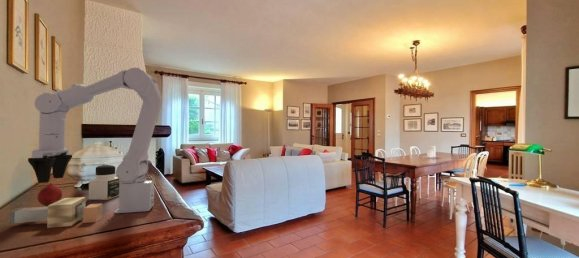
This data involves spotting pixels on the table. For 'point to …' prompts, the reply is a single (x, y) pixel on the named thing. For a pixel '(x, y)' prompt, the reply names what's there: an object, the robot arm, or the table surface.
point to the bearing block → (64, 212)
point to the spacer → (93, 213)
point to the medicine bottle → (104, 184)
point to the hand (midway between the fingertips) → (51, 180)
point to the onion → (49, 194)
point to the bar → (38, 214)
